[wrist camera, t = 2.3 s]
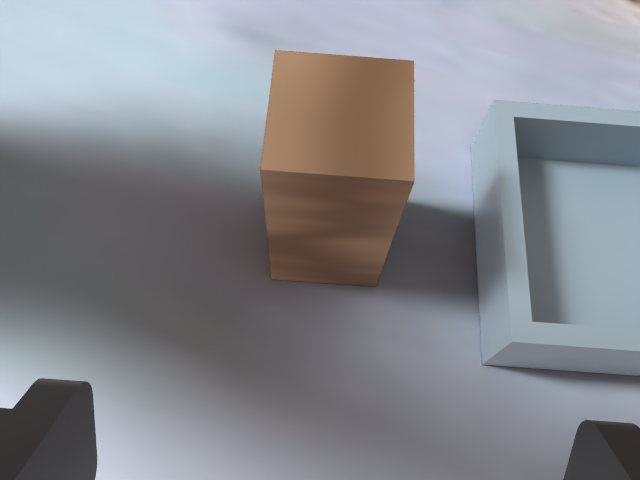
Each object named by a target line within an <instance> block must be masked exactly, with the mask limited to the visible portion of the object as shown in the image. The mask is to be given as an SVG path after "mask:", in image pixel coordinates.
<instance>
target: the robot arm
mask: <svg viewBox="0 0 640 480" xmlns="http://www.w3.org/2000/svg"><path fill="white" fill-rule="evenodd" d="M96 469H97V448H96V434H95V420H94V405H93V393H92V388H91V385H90V384H89V383H88V382H83V381H70V380H56V379H43V378H41V379H38V380H37V381H35V382H34V383H33V385H32V386H31V387H30V388H29V389H28V391H27V392H26V393H25V394H24V396H23V397H22V398H21V399H20V400H19V402H18V403H17V404H16V405H15V407H14V408H13V409H7V408H0V480H95V476H96ZM564 480H640V428H639V427H638V426H636V425H635V424H632V423H619V422H606V421H592V420H585V421H583V422H582V423H581V424H580V425H579V427H578V430H577V433H576V436H575V440H574V444H573V447H572V451H571V454H570V458H569V462H568V465H567V469H566V472H565V476H564Z"/></svg>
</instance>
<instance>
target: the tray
mask: <svg viewBox="0 0 640 480" xmlns="http://www.w3.org/2000/svg"><path fill="white" fill-rule="evenodd" d="M471 162H472V181H473V200H474V220H475V239H476V258H477V277H478V296H479V316H480V335H481V354H482V365H496V366H510V367H523V368H537V369H551V370H564V371H578V372H592V373H606V374H619V375H633V376H640V111H628V110H615V109H603V108H590V107H577V106H564V105H551V104H539V103H526V102H513V101H500V100H494V101H493V103H492V105H491V107H490V109H489V111H488V113H487V115H486V117H485V119H484V121H483V123H482V125H481V127H480V129H479V131H478V133H477V135H476V137H475V139H474V141H473V143H472V145H471Z"/></svg>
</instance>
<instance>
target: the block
mask: <svg viewBox="0 0 640 480" xmlns="http://www.w3.org/2000/svg"><path fill="white" fill-rule="evenodd" d="M260 171H261V181H262V191H263V201H264V211H265V221H266V231H267V242H268V252H269V262H270V272H271V279H277V280H290V281H304V282H317V283H331V284H344V285H358V286H371V287H376V284H377V281H378V279H379V276H380V273H381V270H382V268H383V265H384V262H385V260H386V257H387V254H388V251H389V249H390V246H391V243H392V241H393V238H394V235H395V232H396V230H397V227H398V224H399V222H400V219H401V216H402V213H403V211H404V208H405V205H406V203H407V200H408V197H409V194H410V192H411V189H412V186H413V184H414V61H409V60H396V59H383V58H371V57H358V56H345V55H332V54H319V53H307V52H294V51H281V50H275V55H274V63H273V71H272V79H271V87H270V95H269V104H268V112H267V120H266V128H265V136H264V144H263V152H262V160H261V169H260Z"/></svg>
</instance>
